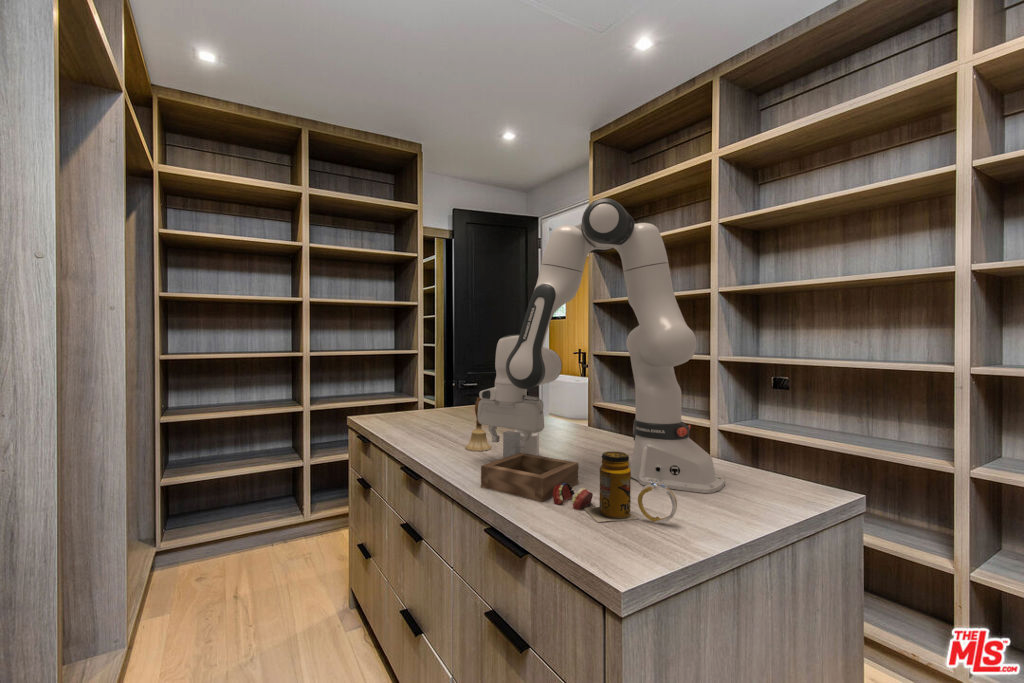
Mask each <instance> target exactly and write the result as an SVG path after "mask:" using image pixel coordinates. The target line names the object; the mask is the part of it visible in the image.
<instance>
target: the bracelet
mask: <svg viewBox="0 0 1024 683" xmlns="http://www.w3.org/2000/svg"><path fill="white" fill-rule="evenodd" d="M661 482H662V481H661V480H660V482H659V481H658V480H657V479H656V481H655V482H653V483H652V480H651V481H650V484H648V485H644V487H642V489H641V490H640V492H639V494H638V496H637V505H638V507H639V511H640V512H641V513H642V515H643V516H644V517H645V518H647V519H648V520H649V521H650V522H653V523H654V524H658V525H659V524H662V523H663V524H664V523H666V522H669V521H670V520H671V519H672V518H673V517H674V516H675V514H676V512H677V509H678V508H677V507H678V501H677V500H678V499H677V498H676V495H675V493H674V492H673V491H672V489H670V488H667V485H668V484H666V485H665V486H664V483H665V482H663V483H661ZM653 490H659V491H660V490H661V491H662V492H665V493H666V494H667V495H668V497H669V499H670V501H671V507H672V508H671V511H670V513H669V515H668V516H666V517H663V518H662V517H660V516H653V515H651V514H650V513H649V512H648V511H647V510H646V508H645V506H644V502H643V498H644V496H645V494H647V493H649V492H652V491H653Z"/></svg>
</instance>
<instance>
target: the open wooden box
mask: <svg viewBox="0 0 1024 683" xmlns="http://www.w3.org/2000/svg"><path fill="white" fill-rule="evenodd" d="M501 458H502V459H501ZM501 458H499V459H497V460H495V461H491V462H488V463H485V464H482V465H480V487H481V488H483V489H487V490H491V491H496V492H500V493H504V494H509V495H513V496H516V497H521V498H523V499H524V498H525V499H529V500H534V501H538V502H542V503H544V502H546V501H547V500H550V499H551V498H553V490H554V487H555V486H556V485H559V484H564V483H568V484H570V486H571V487H572V488H573V487H575V486H577V485H578V484H579V462H577V461H571V460H566V459H561V458H560V459H559V458H554V457H553V458H552V457H548V456H542V455H538V456H537V455H531V454H525V453H517V454H514V455H511V456H508V457H505V458H503V457H501Z"/></svg>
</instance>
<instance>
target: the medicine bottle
mask: <svg viewBox="0 0 1024 683" xmlns="http://www.w3.org/2000/svg"><path fill="white" fill-rule="evenodd" d="M514 432H520V441H521V440H523V439H524V437H525V435H523V431H521V430H515V431H514ZM520 453H525V454H531V455H537V456H540V455H539V454H540V432H537V433H534V432H532V435H531V437H530V439H529V440H528V447H526V448H523V447H520Z"/></svg>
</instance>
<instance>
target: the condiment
mask: <svg viewBox="0 0 1024 683" xmlns="http://www.w3.org/2000/svg"><path fill="white" fill-rule="evenodd" d="M629 459H630V456H629V454H627V453H626V452H622V451H614V450H613V451H605V452H603V453H602V455H601V461H600V462H601V466H600V467H599V506H594V507H583V509H584V510H585V512H587V514H589V516H590V517H591V518H592V519H594V521H596V522H597V523H601V522H604V523H605V522H612V521H613V522H615V521H617V522H618V521H621V522H622V521H629V520H630V521H631V520H637V519H639V517H637V516H636V515H635V514H633V513H632V512H631V503H632V502H631V498H632V497H631V487H632V485H631V480H632V477H631V470H630V460H629Z"/></svg>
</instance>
